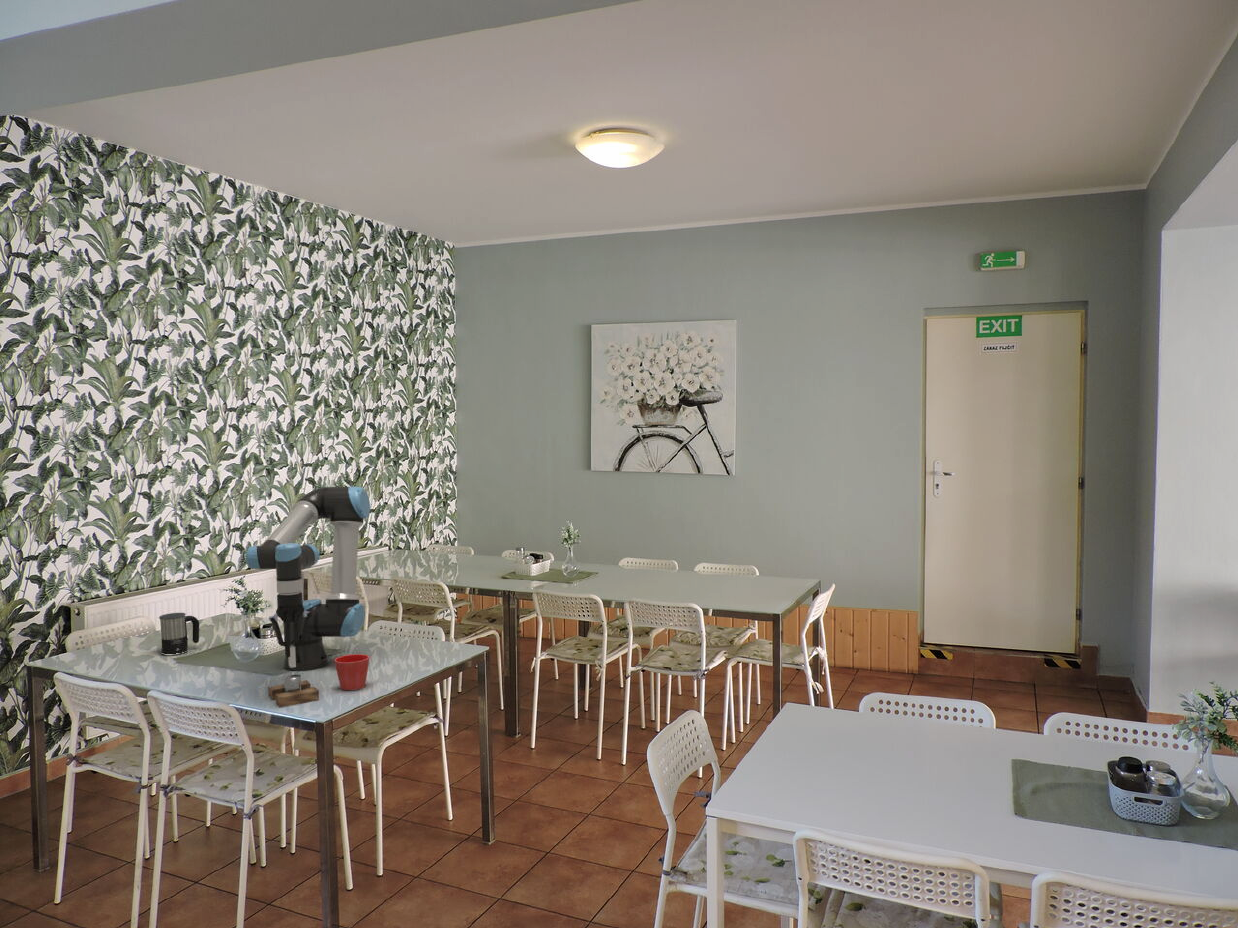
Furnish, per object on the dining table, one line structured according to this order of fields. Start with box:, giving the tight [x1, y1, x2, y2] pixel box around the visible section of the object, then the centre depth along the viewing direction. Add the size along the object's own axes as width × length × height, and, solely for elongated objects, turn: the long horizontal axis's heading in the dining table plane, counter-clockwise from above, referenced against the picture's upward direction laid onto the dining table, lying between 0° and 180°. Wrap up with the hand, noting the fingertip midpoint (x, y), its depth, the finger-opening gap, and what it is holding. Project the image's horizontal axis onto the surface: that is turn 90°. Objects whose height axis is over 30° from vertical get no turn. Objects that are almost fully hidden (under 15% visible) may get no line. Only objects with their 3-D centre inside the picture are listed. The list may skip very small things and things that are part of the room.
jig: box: [267, 679, 320, 708], centre depth 282 cm, size 12×14×3 cm
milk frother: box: [158, 612, 200, 654], centre depth 344 cm, size 14×16×15 cm
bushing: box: [283, 674, 302, 693], centre depth 281 cm, size 5×5×7 cm
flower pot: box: [334, 653, 370, 691], centre depth 292 cm, size 11×11×10 cm
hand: (292, 666), depth 281 cm, fingers closed
